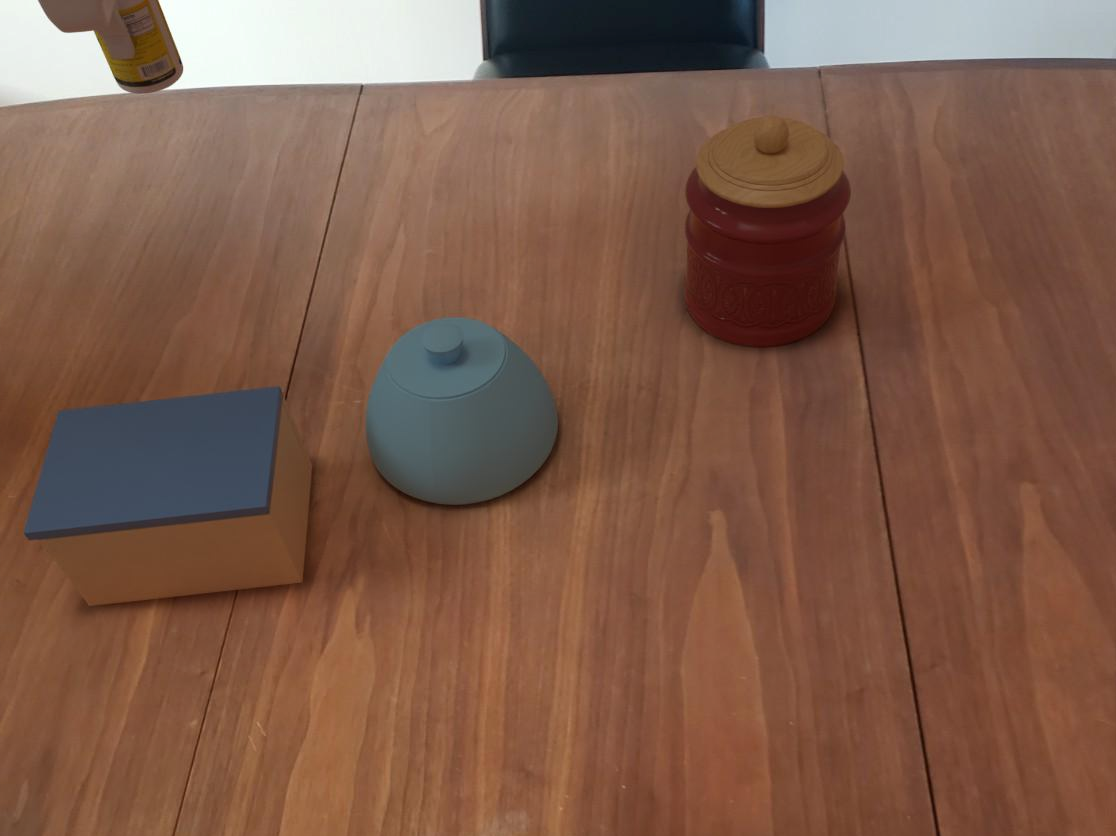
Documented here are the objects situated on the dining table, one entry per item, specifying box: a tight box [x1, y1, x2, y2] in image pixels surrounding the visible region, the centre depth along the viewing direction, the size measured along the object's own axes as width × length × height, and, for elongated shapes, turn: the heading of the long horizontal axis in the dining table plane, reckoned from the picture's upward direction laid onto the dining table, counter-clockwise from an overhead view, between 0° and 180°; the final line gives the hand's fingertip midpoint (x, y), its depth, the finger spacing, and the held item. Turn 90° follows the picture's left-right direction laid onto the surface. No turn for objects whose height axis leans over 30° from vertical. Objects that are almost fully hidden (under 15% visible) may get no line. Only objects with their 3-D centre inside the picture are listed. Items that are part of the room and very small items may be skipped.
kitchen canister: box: [684, 114, 852, 348], centre depth 88 cm, size 13×13×18 cm
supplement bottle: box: [93, 0, 184, 95], centre depth 83 cm, size 5×5×10 cm
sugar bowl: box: [365, 316, 559, 506], centre depth 82 cm, size 15×15×12 cm
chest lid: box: [23, 386, 284, 541], centre depth 75 cm, size 16×12×1 cm
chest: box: [38, 394, 313, 607], centre depth 79 cm, size 16×12×9 cm
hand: (132, 32), depth 84 cm, fingers closed on supplement bottle, 5 cm apart
